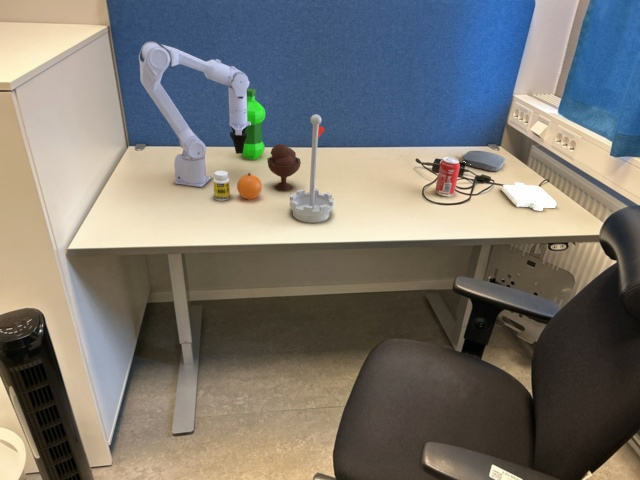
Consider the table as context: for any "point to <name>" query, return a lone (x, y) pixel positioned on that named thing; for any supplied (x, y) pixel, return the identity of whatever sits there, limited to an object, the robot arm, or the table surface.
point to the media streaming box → (484, 160)
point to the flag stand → (312, 188)
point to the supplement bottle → (221, 186)
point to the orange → (249, 186)
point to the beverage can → (447, 176)
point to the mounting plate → (528, 196)
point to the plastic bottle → (254, 127)
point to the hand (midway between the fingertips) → (239, 149)
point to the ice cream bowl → (283, 164)
